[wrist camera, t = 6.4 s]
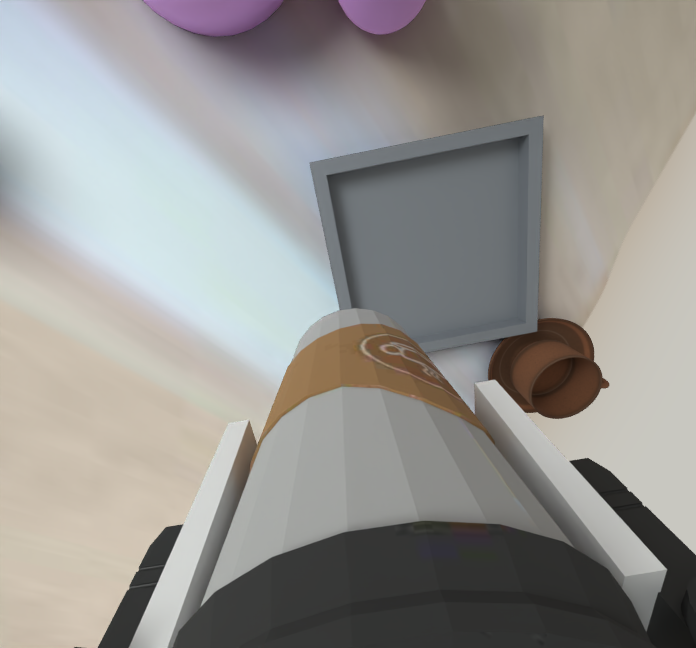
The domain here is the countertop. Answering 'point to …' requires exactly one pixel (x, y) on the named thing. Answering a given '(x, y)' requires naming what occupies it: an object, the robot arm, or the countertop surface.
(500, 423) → the robot arm
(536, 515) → the coffee cup
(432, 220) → the tray
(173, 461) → the countertop surface
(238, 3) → the container set
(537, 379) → the cup and saucer
